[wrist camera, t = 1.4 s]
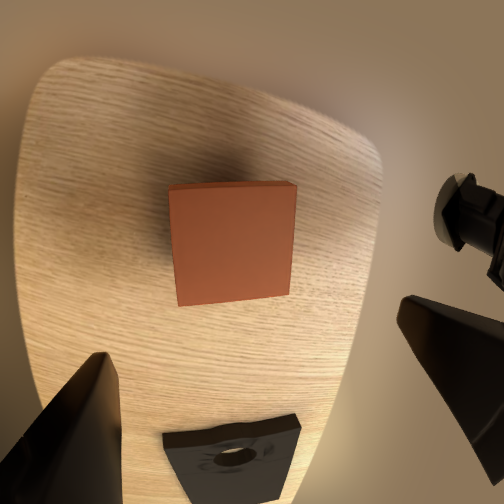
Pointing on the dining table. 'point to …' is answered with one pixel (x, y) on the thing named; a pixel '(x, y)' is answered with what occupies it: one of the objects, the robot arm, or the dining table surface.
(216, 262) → the reddish orange rectangular block
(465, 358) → the robot arm
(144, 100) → the dining table surface
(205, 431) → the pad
